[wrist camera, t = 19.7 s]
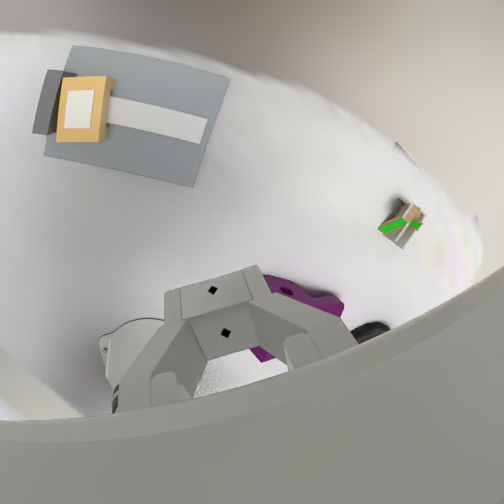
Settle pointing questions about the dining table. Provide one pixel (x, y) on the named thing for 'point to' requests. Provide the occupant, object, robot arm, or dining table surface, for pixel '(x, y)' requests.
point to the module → (84, 109)
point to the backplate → (139, 114)
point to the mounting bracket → (298, 294)
